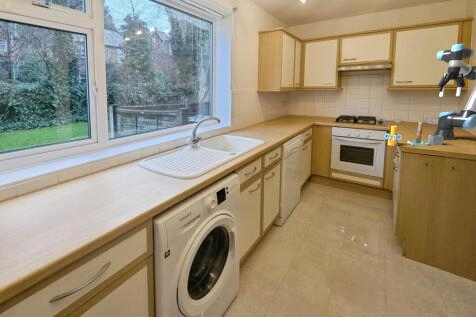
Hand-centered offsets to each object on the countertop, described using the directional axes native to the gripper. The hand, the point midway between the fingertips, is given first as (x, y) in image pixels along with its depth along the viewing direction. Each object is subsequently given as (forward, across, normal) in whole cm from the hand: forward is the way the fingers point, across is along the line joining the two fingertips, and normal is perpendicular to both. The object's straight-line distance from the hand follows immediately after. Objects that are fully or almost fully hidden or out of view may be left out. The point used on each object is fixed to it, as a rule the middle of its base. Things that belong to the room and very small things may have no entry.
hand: (449, 96), depth 208 cm
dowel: (+36, +22, +2) cm, 42 cm away
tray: (+37, +22, +2) cm, 43 cm away
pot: (+37, +8, +4) cm, 38 cm away
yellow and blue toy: (+37, +40, -1) cm, 54 cm away
